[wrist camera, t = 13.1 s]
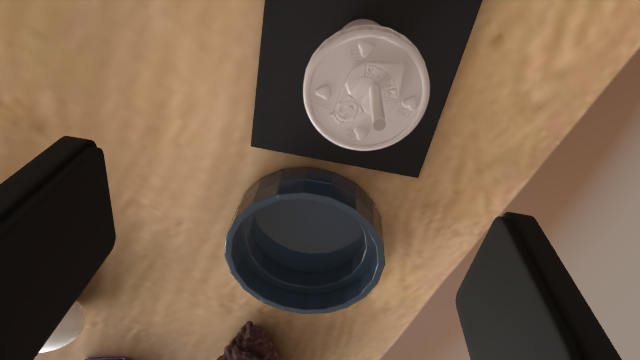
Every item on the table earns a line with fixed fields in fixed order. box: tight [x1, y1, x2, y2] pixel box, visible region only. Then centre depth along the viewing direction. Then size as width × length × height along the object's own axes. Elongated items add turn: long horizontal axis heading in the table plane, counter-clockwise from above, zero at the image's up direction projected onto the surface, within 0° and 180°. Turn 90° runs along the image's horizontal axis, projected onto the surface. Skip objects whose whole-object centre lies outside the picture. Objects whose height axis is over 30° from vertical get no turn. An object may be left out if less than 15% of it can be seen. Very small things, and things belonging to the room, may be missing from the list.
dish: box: [224, 168, 385, 314], centre depth 37 cm, size 14×14×4 cm
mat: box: [251, 0, 482, 178], centre depth 29 cm, size 19×14×1 cm
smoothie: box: [303, 19, 430, 151], centre depth 22 cm, size 6×6×14 cm
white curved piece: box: [34, 301, 85, 360], centre depth 42 cm, size 10×8×15 cm
